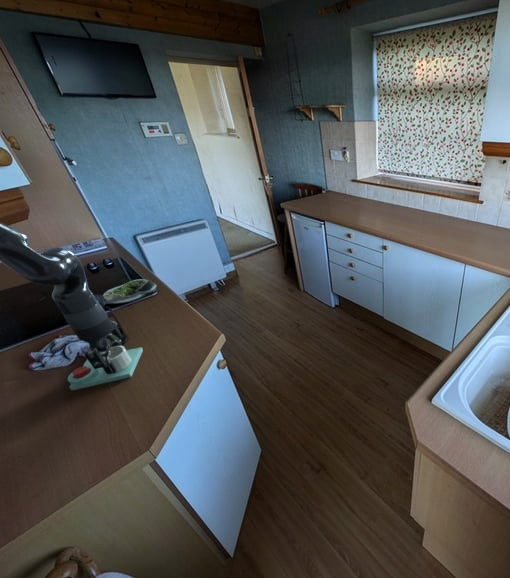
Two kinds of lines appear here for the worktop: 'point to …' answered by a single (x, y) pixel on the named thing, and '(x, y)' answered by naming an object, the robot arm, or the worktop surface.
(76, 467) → the worktop surface
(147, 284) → the salad plate
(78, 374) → the tare button
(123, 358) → the bowl
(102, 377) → the scale
